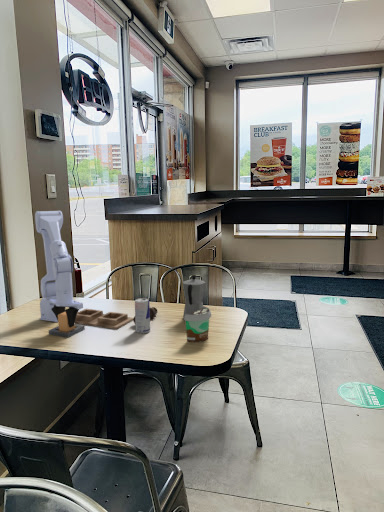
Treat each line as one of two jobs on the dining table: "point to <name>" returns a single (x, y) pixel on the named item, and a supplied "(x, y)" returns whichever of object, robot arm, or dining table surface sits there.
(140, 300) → the energy drink
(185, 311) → the coffeepot
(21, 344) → the dining table surface
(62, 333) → the metal socket
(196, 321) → the food container
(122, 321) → the walnut rack
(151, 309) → the bolt
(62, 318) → the orange peg
